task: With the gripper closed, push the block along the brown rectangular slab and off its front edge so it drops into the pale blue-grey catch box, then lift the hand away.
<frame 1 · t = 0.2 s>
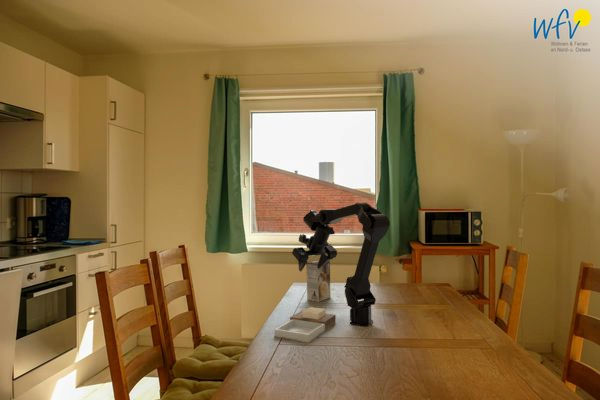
hand: (309, 269, 170), 14 cm above the table, tool tilted 30°, fingers open, 9 cm apart
coffee box: (318, 299, 181), on the table
brown rectangular slab: (313, 324, 145), on the table
block: (314, 316, 144), point 3 cm above the table, touching brown rectangular slab
catch box: (300, 333, 135), on the table
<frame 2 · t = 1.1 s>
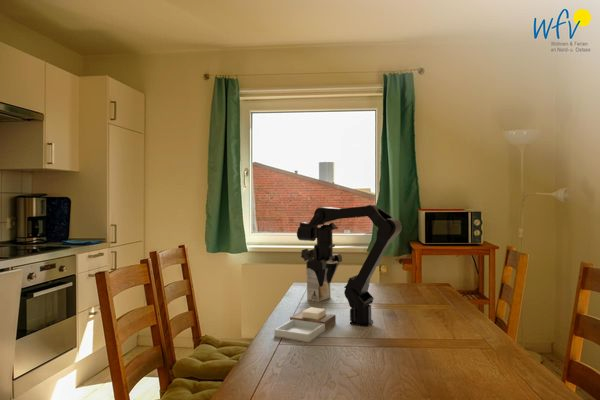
hand: (325, 284, 153), 12 cm above the table, tool pointing down, fingers open, 7 cm apart
nothing on the table moved.
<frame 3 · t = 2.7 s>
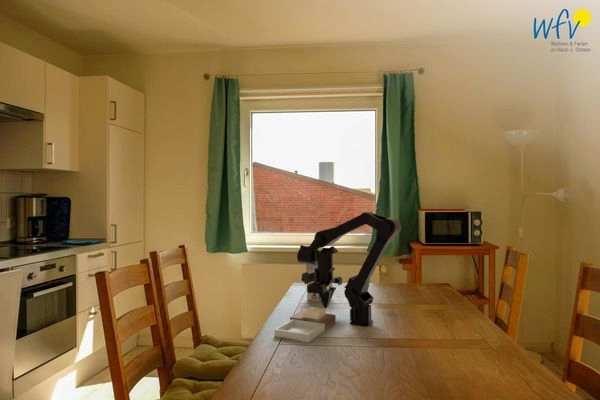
hand: (325, 307, 153), 4 cm above the table, tool pointing down, fingers closed
nothing on the table moved.
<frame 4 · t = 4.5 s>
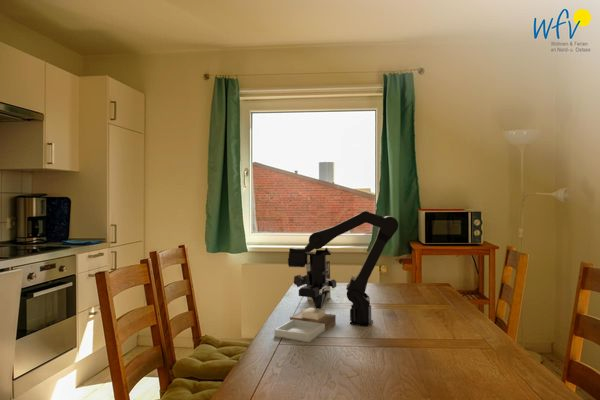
hand: (318, 311, 148), 4 cm above the table, tool pointing down, fingers closed
block: (313, 316, 144), point 3 cm above the table, touching gripper
everything else where it was.
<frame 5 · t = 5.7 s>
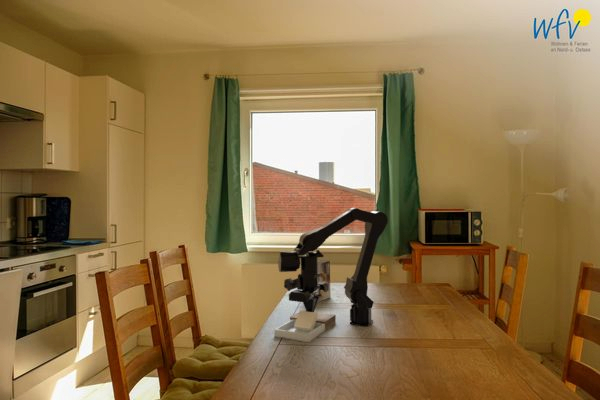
hand: (309, 316, 142), 4 cm above the table, tool pointing down, fingers closed
block: (306, 322, 139), point 2 cm above the table, tilted 42°, touching gripper
everything else where it was.
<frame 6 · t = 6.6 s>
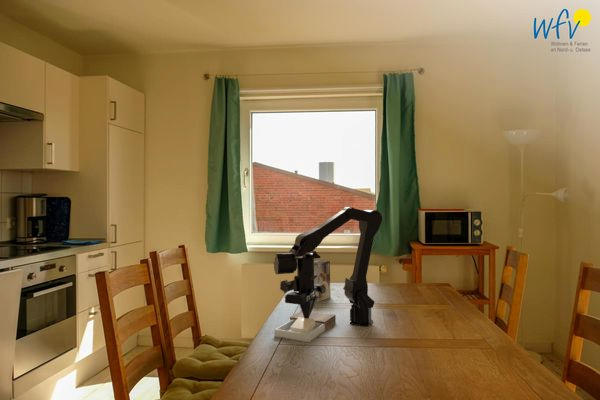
hand: (306, 319, 139), 4 cm above the table, tool pointing down, fingers closed
block: (303, 328, 136), point 1 cm above the table, tilted 16°, touching catch box, gripper
everything else where it was.
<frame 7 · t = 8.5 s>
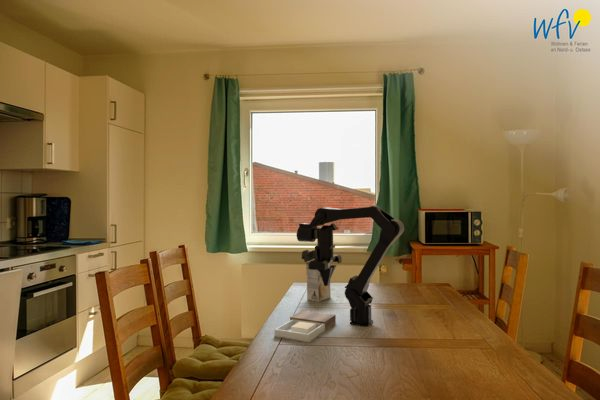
hand: (326, 285, 151), 12 cm above the table, tool pointing down, fingers closed
block: (303, 331, 136), resting on catch box
everything else where it was.
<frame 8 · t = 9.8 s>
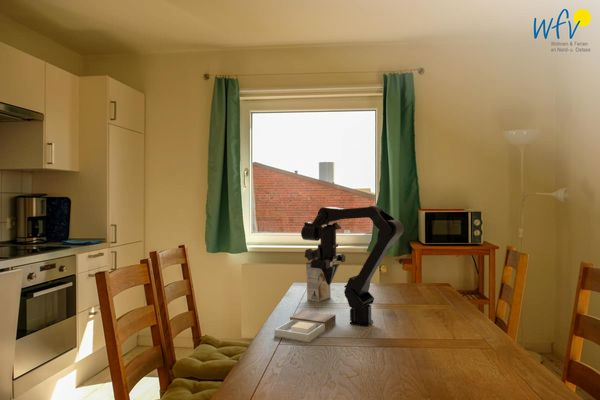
hand: (328, 284, 153), 12 cm above the table, tool pointing down, fingers closed
nothing on the table moved.
at the end: block inside the target area on the catch box (1.7 cm from its centre), point 0.4 cm above the catch box's base; block moved 9.2 cm from its start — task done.
